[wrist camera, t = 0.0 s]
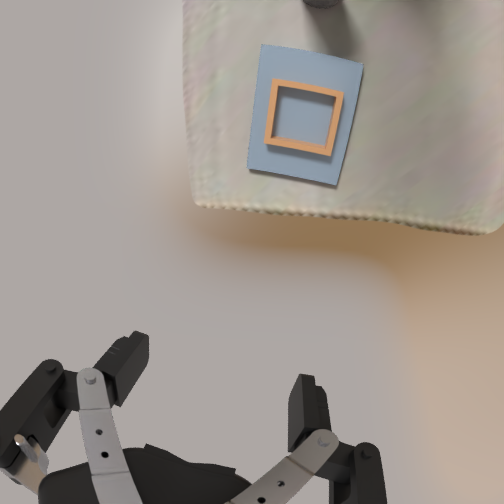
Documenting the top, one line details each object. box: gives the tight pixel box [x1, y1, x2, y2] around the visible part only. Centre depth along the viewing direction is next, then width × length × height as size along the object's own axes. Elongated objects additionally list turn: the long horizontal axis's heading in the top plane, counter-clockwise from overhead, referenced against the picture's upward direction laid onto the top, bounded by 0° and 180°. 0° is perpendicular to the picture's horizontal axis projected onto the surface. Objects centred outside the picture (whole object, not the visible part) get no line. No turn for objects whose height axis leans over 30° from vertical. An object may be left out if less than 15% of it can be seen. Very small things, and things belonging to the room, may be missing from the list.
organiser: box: [247, 44, 364, 185], centre depth 32 cm, size 18×13×3 cm
